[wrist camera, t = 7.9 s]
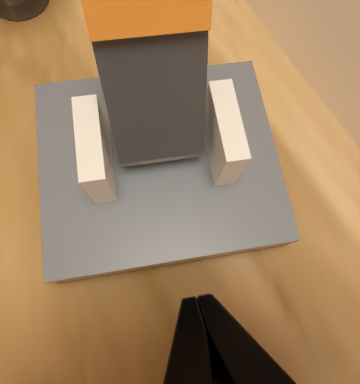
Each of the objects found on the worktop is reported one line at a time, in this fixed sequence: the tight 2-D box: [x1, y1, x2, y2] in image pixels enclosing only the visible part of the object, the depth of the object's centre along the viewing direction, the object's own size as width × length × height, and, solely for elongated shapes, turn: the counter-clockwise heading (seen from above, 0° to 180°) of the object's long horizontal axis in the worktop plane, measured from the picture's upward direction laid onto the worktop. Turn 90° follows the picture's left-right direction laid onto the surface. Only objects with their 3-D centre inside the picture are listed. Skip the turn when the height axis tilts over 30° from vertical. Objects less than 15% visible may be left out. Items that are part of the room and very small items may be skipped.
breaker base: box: [35, 61, 300, 283], centre depth 18 cm, size 12×14×6 cm
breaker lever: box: [81, 0, 212, 167], centre depth 15 cm, size 2×5×9 cm, turn 100°
